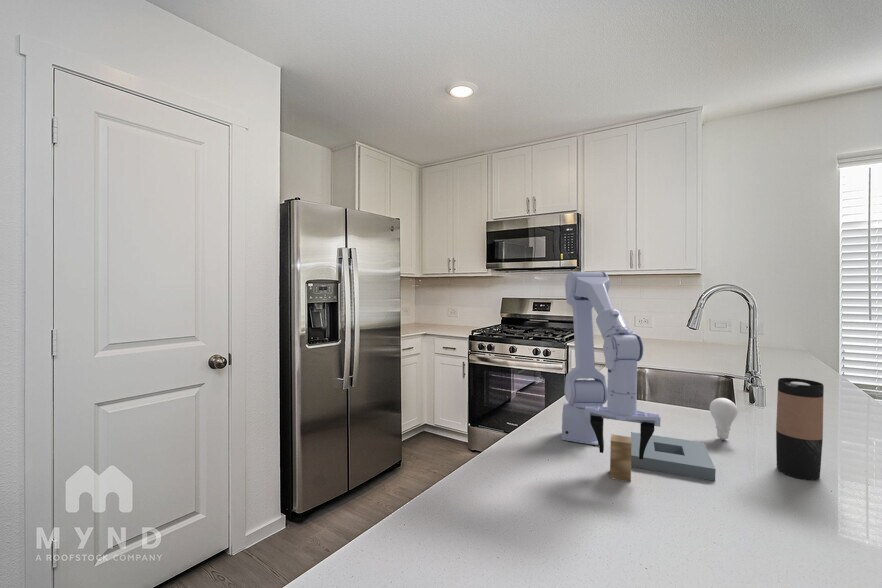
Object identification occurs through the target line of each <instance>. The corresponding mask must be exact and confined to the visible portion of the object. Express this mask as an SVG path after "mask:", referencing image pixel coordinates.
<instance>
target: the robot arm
mask: <svg viewBox="0 0 882 588" xmlns="http://www.w3.org/2000/svg"><path fill="white" fill-rule="evenodd" d="M564 288H565V299H566V303H567V304H568V305H570V306H571V308H572V316H573V317H572V320H573V336H574V337H573V340H574V357H575V366H574V368H572V369H571V370H570V371H568V373H566V375H565V378H564V379H565V381H564V398H565V400H566V402H564V403H563V406H562V418H561V420H562V421H561V440H562V441H569V442H573V443H574V442H575V443H579V444H580V443H581V444H587V445H592V446H598V448H599V449H598V450H599V453H601V454H603V453H604V450H605V449H604V448H605V445H604V443H605V440H604V421H605V420H604V419H606V420H613V421H621V422H629V423H637V424H640V448H639V459H643V456H644V451H645V448H646V446H647V443H648V441H649V439H650V438H651V436H652V435H653V434H654V432H655V427H661V415H660V414H655V413H652V412H651V413H650V412H646V411H641V410H637V407H638V405H637V403H638V401H637V398H638V362H640V361H641V360H642V358H643V356H644V345H643V344H644V343H643V340H642V337H641V336H640V335H639V334H638V333H635V332H634V331H633V330H632V331H631V330H630V328H629V326H628V325H627V322H626V321H625V318H624V317H623V315H622V313H621V311H620V310H618V309H615V308H614V307H613V304H612V301H611V298H610V296H609V291H610V277H609V275H608V274H607V272H606V271H573V270H571V271H569V272H568V274H567V275H566V278H565V283H564ZM593 308H594V310H595V313H596V314H597V316H596V317H595V323H596V325H597V328H598V329H599V332H600V334H601V337H602V340H603V345H602V348H603V349H602V351H603V356H604V362H605V363H604V365H605V368H606V369H607V382H606V376H605V374H604V373H602V372H601V371H599V370H598V369H597V368H596V363H595V361H596V360H595V344H594V329H593V328H594V326H593ZM605 404H606V406H604V405H605Z"/></svg>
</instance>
